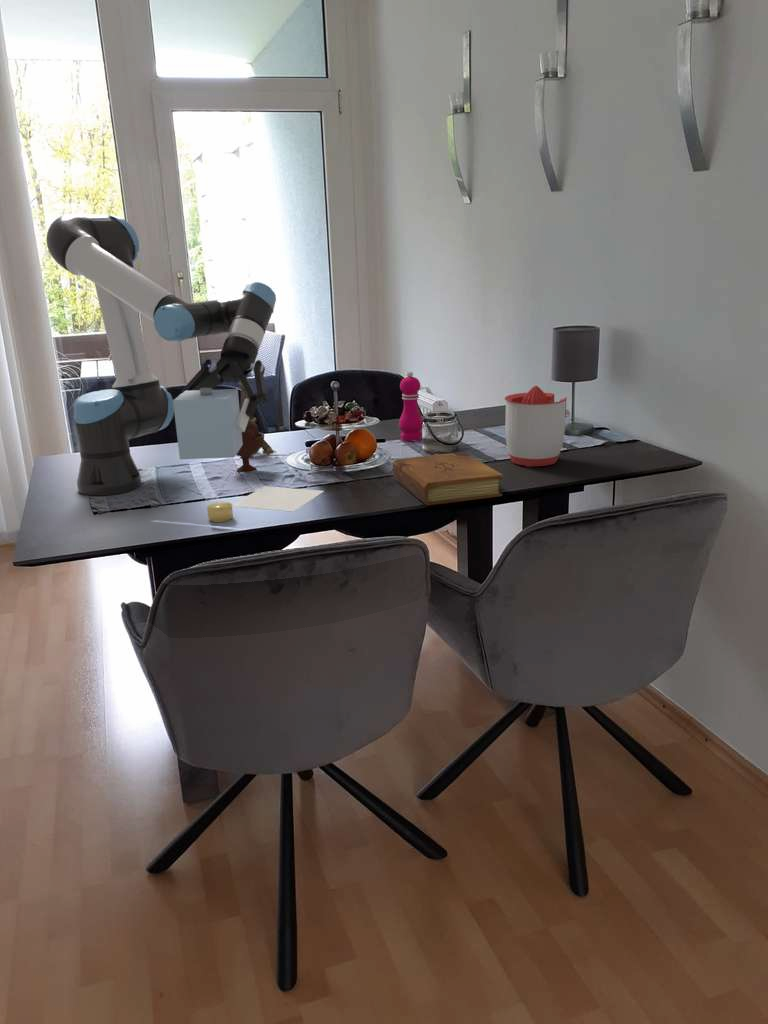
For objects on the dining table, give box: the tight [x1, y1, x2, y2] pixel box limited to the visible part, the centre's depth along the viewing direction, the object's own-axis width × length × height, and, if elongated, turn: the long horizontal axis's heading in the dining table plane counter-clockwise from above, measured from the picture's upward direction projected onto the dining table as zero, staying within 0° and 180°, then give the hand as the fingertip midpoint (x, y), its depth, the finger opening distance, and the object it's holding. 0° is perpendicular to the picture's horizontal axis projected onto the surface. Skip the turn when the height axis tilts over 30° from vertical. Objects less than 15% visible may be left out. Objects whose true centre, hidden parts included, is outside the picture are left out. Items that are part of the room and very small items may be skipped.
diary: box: [392, 451, 503, 506], centre depth 191 cm, size 23×19×6 cm
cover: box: [173, 388, 243, 460], centre depth 166 cm, size 11×11×13 cm
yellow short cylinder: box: [206, 501, 234, 523], centre depth 173 cm, size 5×5×4 cm
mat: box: [231, 485, 325, 512], centre depth 187 cm, size 16×16×1 cm
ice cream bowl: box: [236, 420, 265, 474], centre depth 210 cm, size 11×11×15 cm
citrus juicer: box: [504, 385, 571, 468], centre depth 209 cm, size 16×17×20 cm
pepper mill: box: [398, 371, 424, 442], centre depth 238 cm, size 7×7×20 cm
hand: (212, 427), depth 169 cm, fingers closed on cover, 13 cm apart
